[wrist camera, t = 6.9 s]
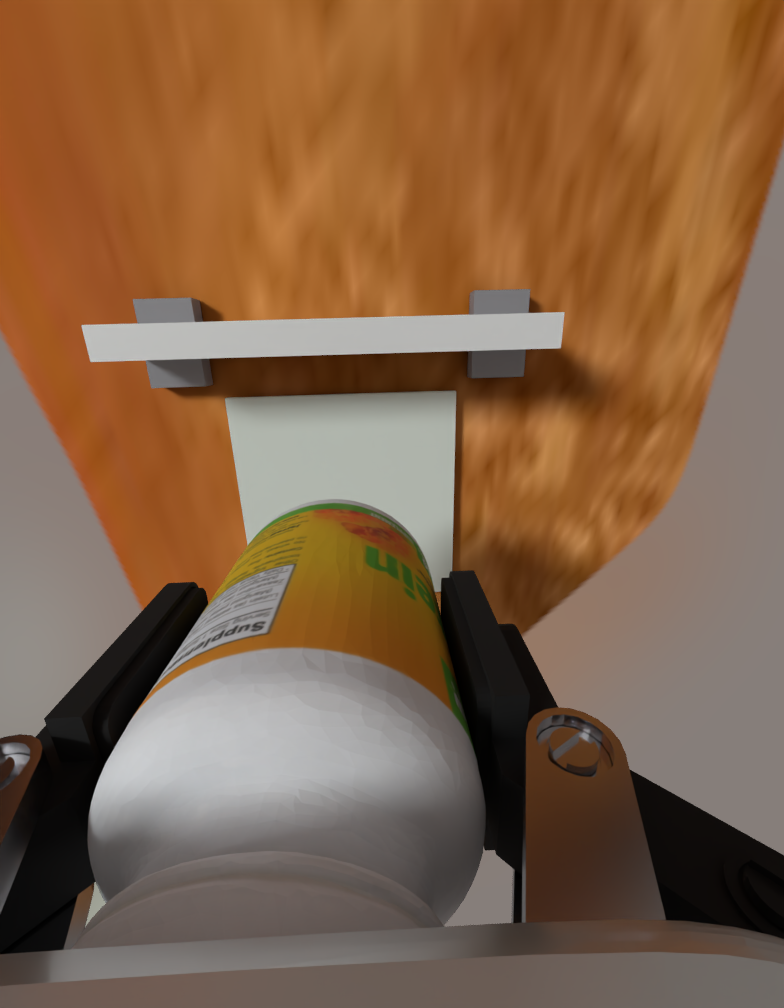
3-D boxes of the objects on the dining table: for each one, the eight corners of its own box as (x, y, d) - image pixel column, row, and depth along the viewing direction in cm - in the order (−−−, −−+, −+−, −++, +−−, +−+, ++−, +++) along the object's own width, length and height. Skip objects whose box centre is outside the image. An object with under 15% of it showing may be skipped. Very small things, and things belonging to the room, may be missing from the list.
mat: (227, 397, 17) (224, 398, 17) (454, 390, 17) (456, 391, 17) (258, 595, 20) (256, 599, 20) (450, 586, 20) (451, 591, 20)
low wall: (144, 301, 16) (71, 286, 12) (522, 292, 16) (568, 273, 12) (161, 386, 17) (99, 396, 13) (517, 375, 17) (557, 382, 13)
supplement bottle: (463, 603, 13) (688, 1234, 4) (317, 686, 14) (197, 1373, 4) (361, 455, 11) (299, 912, 2) (202, 560, 12) (-352, 1222, 3)
